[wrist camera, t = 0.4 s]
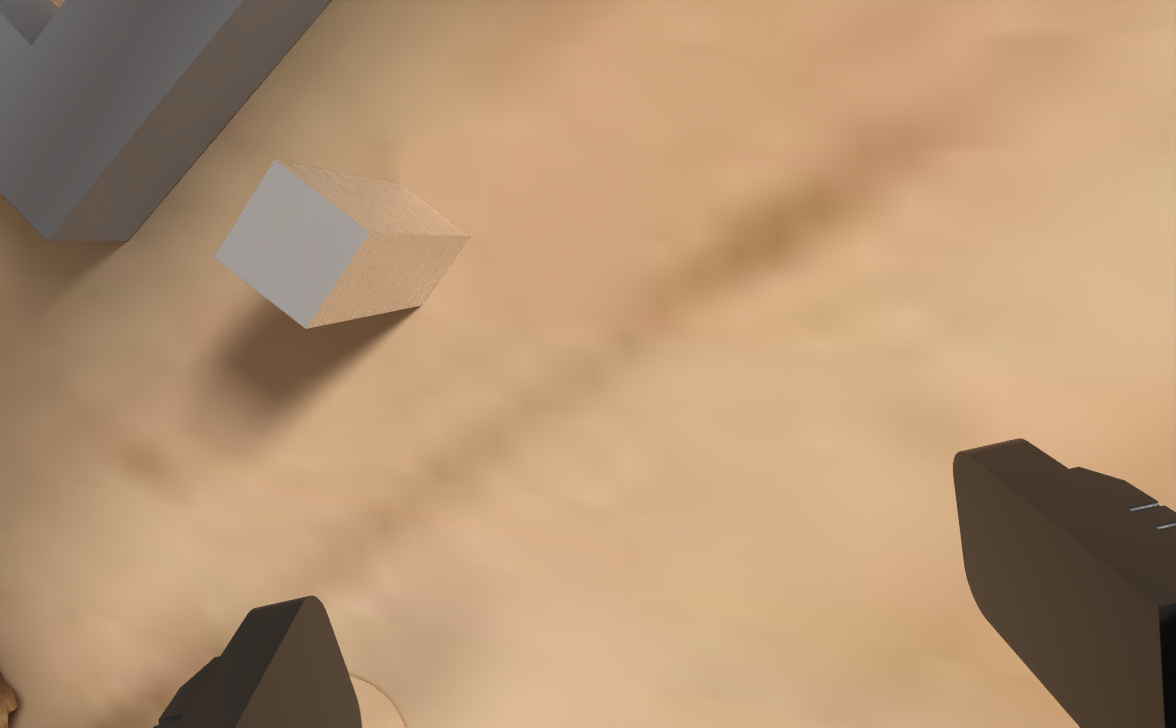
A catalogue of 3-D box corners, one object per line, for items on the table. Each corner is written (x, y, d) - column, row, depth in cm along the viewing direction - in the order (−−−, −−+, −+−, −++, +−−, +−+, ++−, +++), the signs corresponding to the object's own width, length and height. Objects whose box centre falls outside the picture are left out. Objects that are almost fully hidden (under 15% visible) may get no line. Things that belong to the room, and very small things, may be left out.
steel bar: (401, 183, 34) (274, 159, 25) (469, 236, 34) (369, 232, 24) (355, 253, 35) (213, 257, 25) (421, 305, 35) (305, 328, 25)
